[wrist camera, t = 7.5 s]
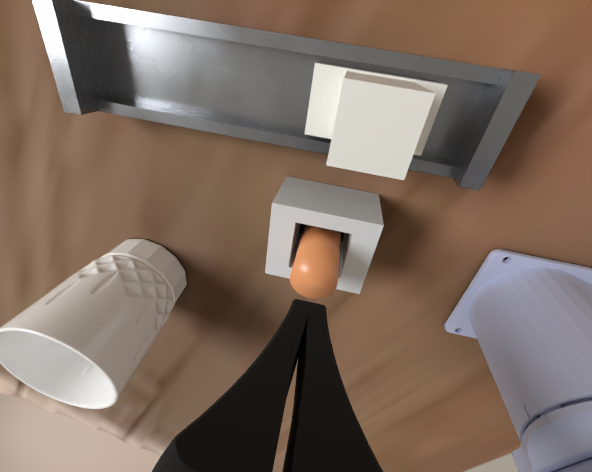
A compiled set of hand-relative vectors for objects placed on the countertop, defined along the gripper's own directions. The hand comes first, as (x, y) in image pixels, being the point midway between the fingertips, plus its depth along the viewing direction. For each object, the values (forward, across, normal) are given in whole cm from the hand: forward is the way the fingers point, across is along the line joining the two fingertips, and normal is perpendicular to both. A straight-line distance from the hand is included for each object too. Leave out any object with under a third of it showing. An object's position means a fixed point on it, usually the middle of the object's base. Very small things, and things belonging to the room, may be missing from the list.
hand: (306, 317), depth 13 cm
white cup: (+9, +14, +9) cm, 19 cm away
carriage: (+8, -1, -8) cm, 11 cm away
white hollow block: (+9, 0, 0) cm, 9 cm away
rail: (+9, +4, -8) cm, 12 cm away
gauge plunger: (+7, 0, 0) cm, 7 cm away
